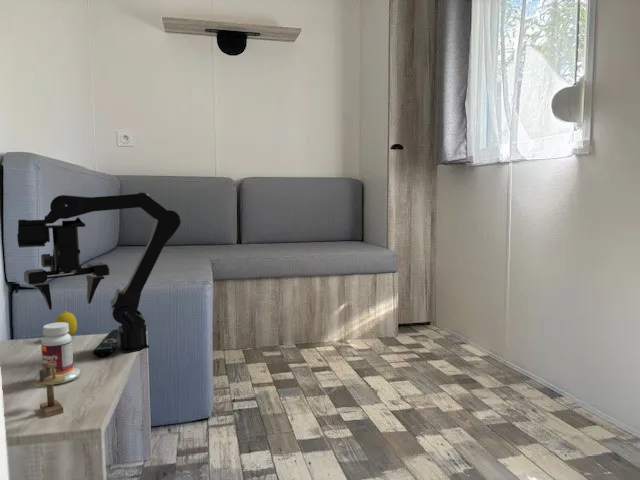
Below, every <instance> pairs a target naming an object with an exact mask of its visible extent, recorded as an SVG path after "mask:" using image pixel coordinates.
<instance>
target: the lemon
mask: <svg viewBox="0 0 640 480" xmlns="http://www.w3.org/2000/svg"><path fill="white" fill-rule="evenodd" d="M57 322H66V323H68V325H69V332H68V333H67V334H69V335H70V336H71V337H72V336H73V335H74V334H75V332H76V331H77V329H78V321H77V318H76V315H74V314H73V313H72V312H68V311H67V310H64V311H63V312H62V313H60V314H59V315H58V316H57V317H56V318H55V323H57Z"/></svg>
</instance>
